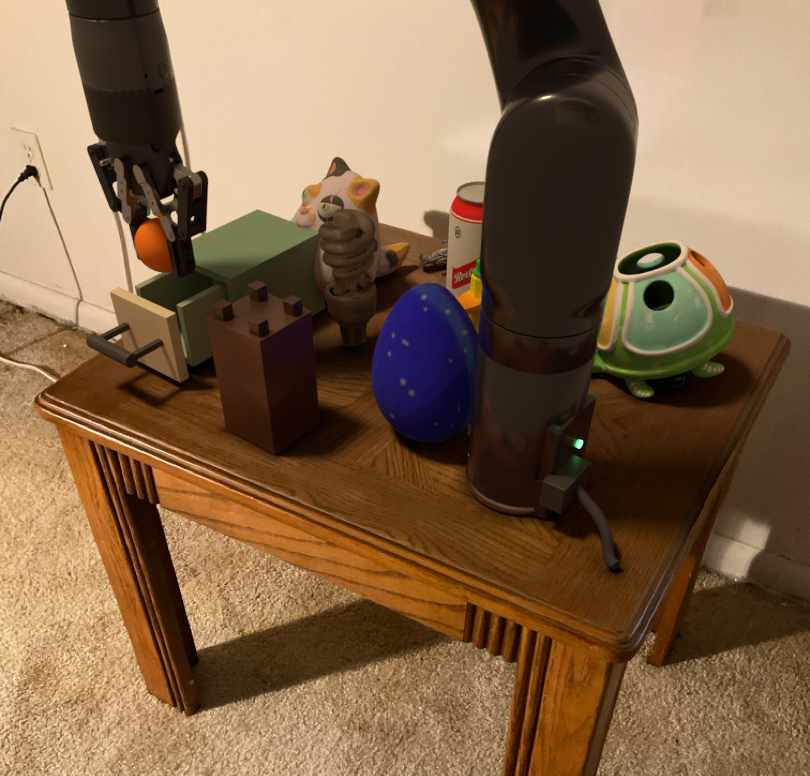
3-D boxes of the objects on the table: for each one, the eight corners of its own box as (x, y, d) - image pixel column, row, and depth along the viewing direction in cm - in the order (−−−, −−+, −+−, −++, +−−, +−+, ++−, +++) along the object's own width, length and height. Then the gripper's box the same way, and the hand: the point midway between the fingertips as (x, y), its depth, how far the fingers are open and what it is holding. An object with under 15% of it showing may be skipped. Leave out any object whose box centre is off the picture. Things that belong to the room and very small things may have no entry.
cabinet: (242, 358, 88) (230, 279, 81) (181, 329, 92) (165, 251, 85) (326, 308, 95) (321, 231, 89) (266, 283, 99) (257, 209, 93)
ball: (203, 267, 81) (195, 217, 77) (164, 287, 78) (153, 236, 74) (169, 253, 83) (159, 204, 79) (130, 271, 80) (117, 221, 76)
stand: (320, 422, 80) (310, 298, 70) (274, 455, 76) (257, 329, 67) (272, 399, 82) (256, 276, 73) (226, 429, 79) (203, 304, 69)
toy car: (678, 394, 83) (683, 377, 82) (645, 385, 84) (649, 367, 83) (698, 357, 88) (703, 340, 87) (667, 348, 89) (671, 331, 88)
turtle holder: (557, 361, 93) (528, 268, 85) (723, 310, 88) (707, 206, 80) (568, 426, 84) (536, 329, 77) (753, 373, 79) (738, 264, 71)
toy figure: (462, 391, 84) (470, 282, 75) (435, 378, 85) (440, 269, 77) (502, 365, 87) (514, 257, 79) (476, 352, 89) (485, 246, 80)
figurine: (250, 268, 96) (288, 137, 89) (359, 287, 108) (401, 173, 101) (304, 314, 90) (350, 177, 83) (414, 329, 102) (462, 210, 95)
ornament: (499, 437, 78) (516, 293, 68) (428, 478, 74) (434, 330, 63) (422, 387, 84) (426, 247, 73) (352, 422, 80) (345, 278, 69)
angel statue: (473, 246, 106) (481, 275, 105) (413, 252, 104) (420, 281, 103) (480, 227, 102) (488, 256, 101) (418, 233, 101) (425, 263, 100)
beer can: (501, 352, 89) (517, 205, 78) (443, 351, 89) (451, 204, 78) (498, 322, 93) (512, 179, 82) (443, 321, 93) (449, 178, 82)
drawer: (143, 404, 80) (126, 338, 75) (89, 374, 84) (69, 310, 78) (266, 331, 90) (259, 269, 85) (213, 308, 93) (202, 246, 88)
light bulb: (354, 368, 86) (349, 229, 76) (315, 350, 89) (305, 213, 78) (387, 345, 90) (386, 209, 79) (349, 329, 92) (343, 195, 81)
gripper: (35, 66, 69) (88, 259, 81) (149, 101, 63) (188, 303, 75) (107, 47, 73) (148, 233, 85) (220, 78, 67) (246, 273, 79)
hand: (166, 265), depth 80 cm, fingers closed on ball, 4 cm apart
